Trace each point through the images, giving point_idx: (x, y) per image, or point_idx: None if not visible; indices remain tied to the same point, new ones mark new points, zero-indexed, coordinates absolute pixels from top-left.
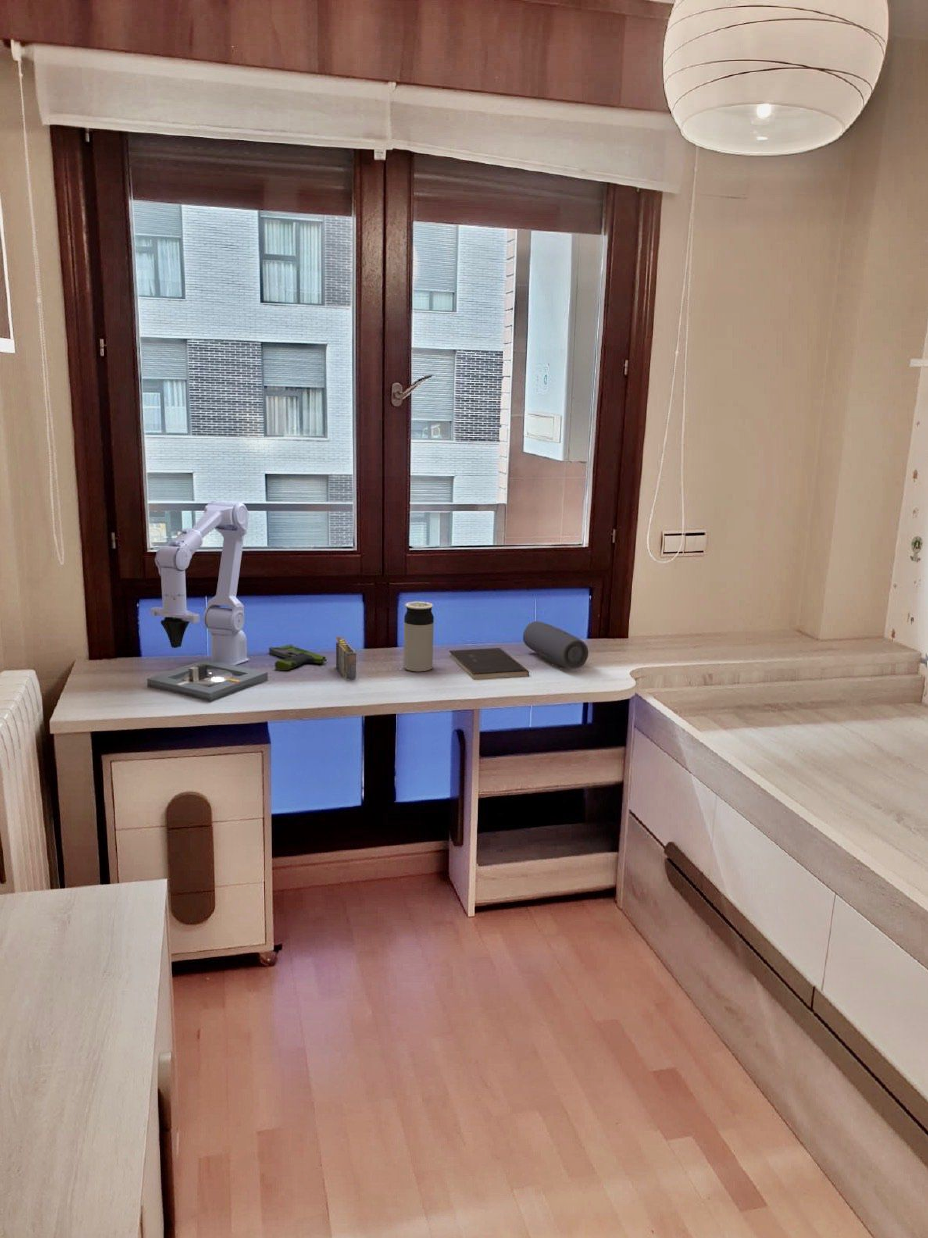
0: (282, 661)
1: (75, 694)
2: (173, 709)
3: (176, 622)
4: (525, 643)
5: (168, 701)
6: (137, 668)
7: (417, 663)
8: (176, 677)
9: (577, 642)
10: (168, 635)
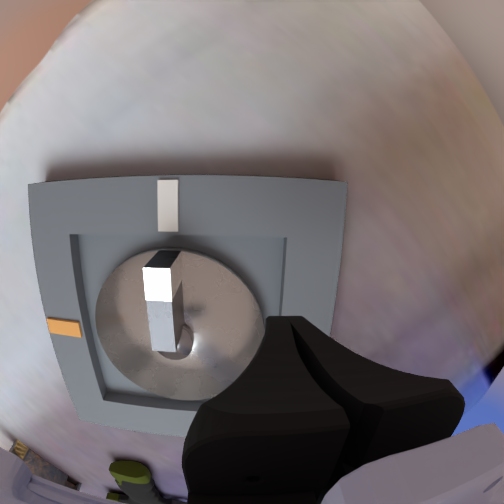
0: (125, 477)
1: (443, 38)
2: (88, 63)
3: (188, 459)
4: None
5: (151, 100)
6: (462, 307)
7: None
8: (282, 279)
9: None
10: (335, 347)
